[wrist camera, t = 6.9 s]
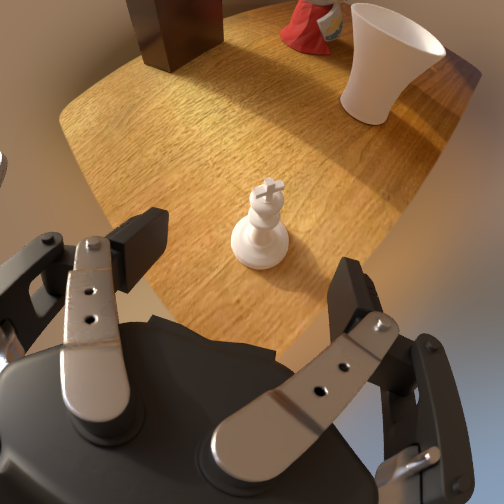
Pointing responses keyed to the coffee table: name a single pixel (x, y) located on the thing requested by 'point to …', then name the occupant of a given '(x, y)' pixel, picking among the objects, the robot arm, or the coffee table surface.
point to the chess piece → (262, 228)
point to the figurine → (314, 26)
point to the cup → (385, 60)
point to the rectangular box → (175, 30)
